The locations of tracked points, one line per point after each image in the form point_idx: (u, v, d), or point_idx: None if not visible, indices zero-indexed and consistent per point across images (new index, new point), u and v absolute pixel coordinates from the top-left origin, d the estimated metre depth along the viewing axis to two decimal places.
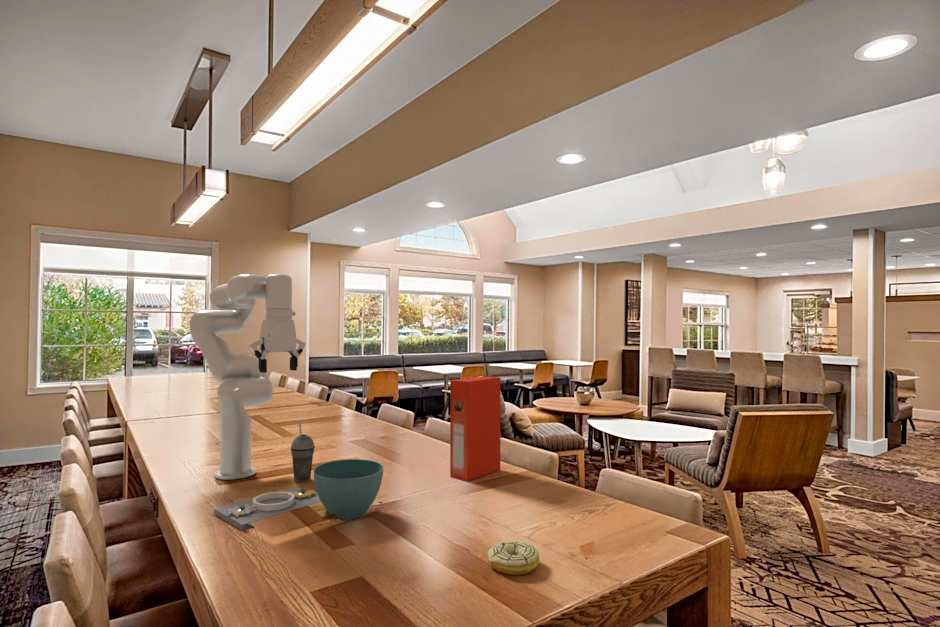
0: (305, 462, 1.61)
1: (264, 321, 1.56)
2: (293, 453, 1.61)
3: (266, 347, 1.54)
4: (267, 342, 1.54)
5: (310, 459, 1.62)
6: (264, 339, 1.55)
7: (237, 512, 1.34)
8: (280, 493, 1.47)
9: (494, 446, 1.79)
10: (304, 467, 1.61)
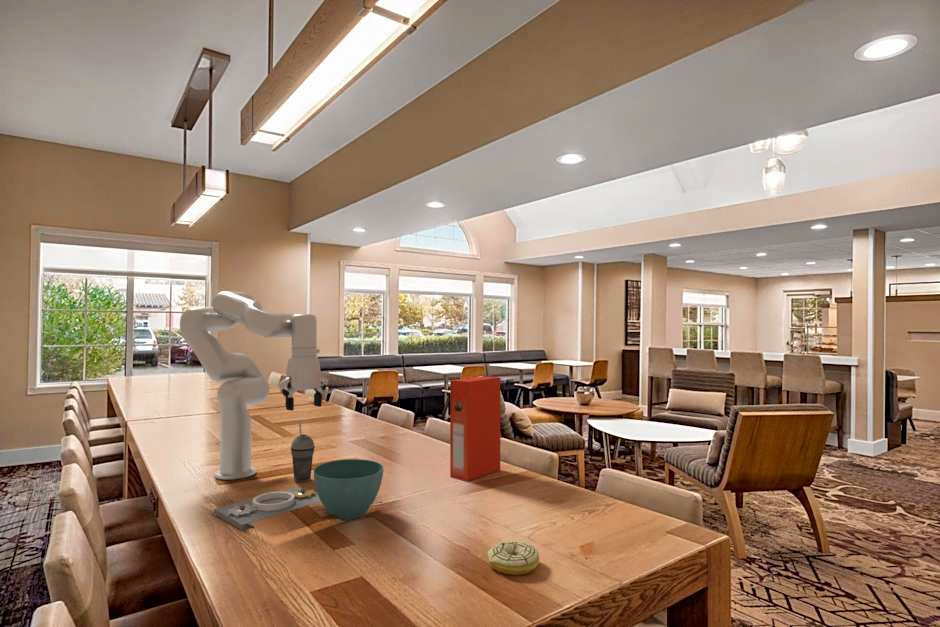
0: (305, 462, 1.61)
1: (290, 360, 1.60)
2: (293, 453, 1.61)
3: (293, 386, 1.59)
4: (294, 381, 1.59)
5: (310, 459, 1.62)
6: (291, 378, 1.59)
7: (237, 512, 1.34)
8: (280, 493, 1.47)
9: (494, 446, 1.79)
10: (304, 467, 1.61)
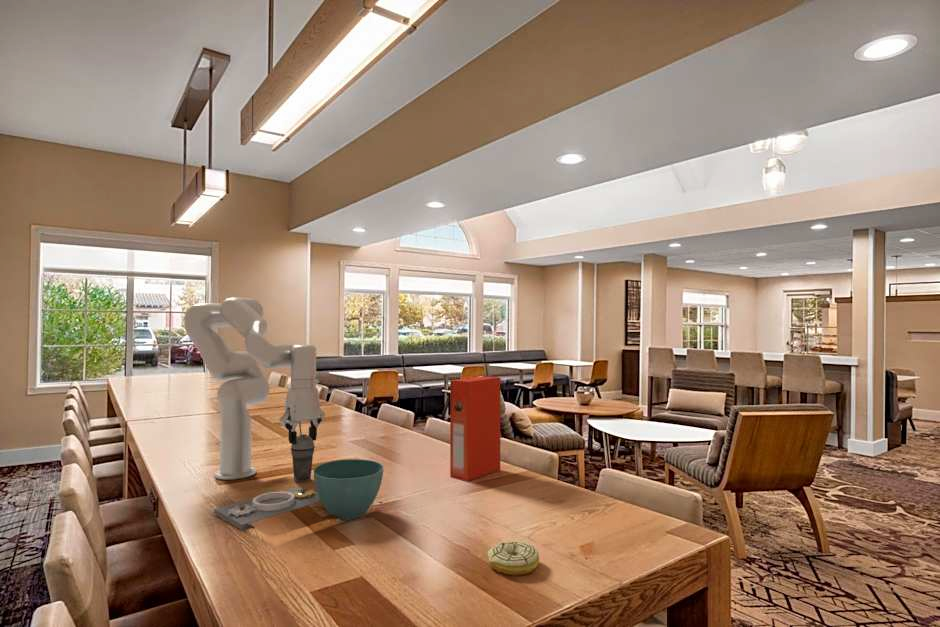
0: (305, 462, 1.61)
1: (290, 391, 1.60)
2: (293, 453, 1.61)
3: (292, 417, 1.59)
4: (293, 412, 1.59)
5: (310, 459, 1.62)
6: (290, 409, 1.59)
7: (237, 512, 1.34)
8: (280, 493, 1.47)
9: (494, 446, 1.79)
10: (304, 467, 1.61)
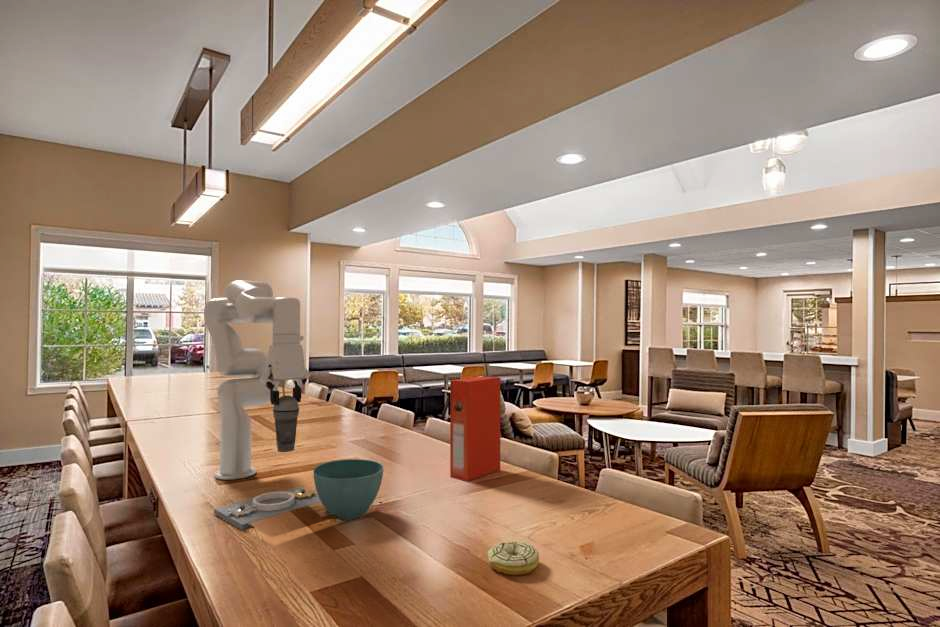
0: (289, 425, 1.47)
1: (271, 347, 1.47)
2: (276, 415, 1.47)
3: (274, 375, 1.45)
4: (275, 370, 1.45)
5: (294, 422, 1.49)
6: (272, 367, 1.45)
7: (237, 512, 1.34)
8: (280, 493, 1.47)
9: (494, 446, 1.79)
10: (288, 430, 1.47)
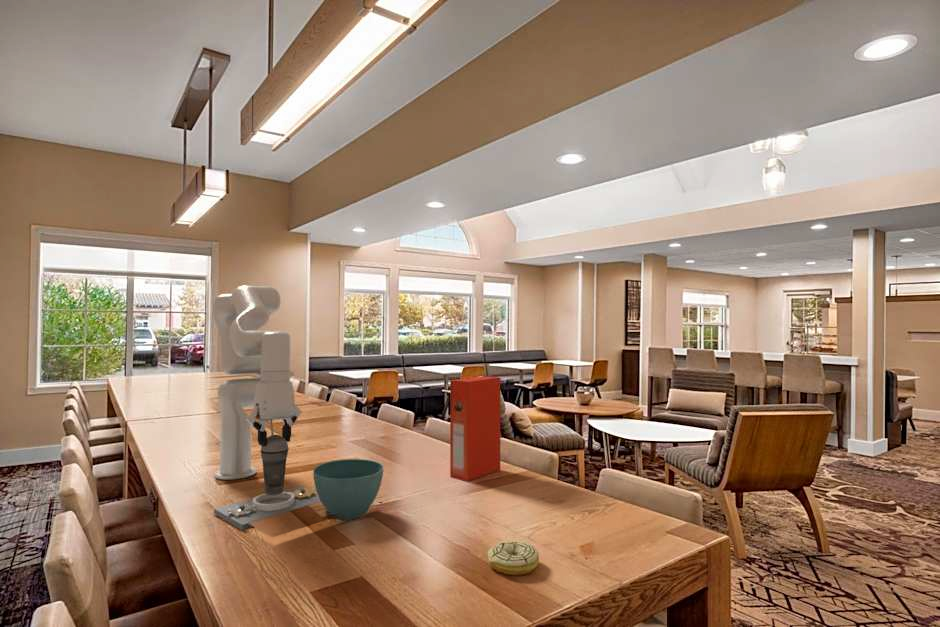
0: (277, 467, 1.40)
1: (259, 385, 1.39)
2: (263, 456, 1.40)
3: (261, 415, 1.38)
4: (262, 409, 1.38)
5: (283, 463, 1.41)
6: (259, 406, 1.38)
7: (237, 512, 1.34)
8: None
9: (494, 446, 1.79)
10: (276, 472, 1.40)
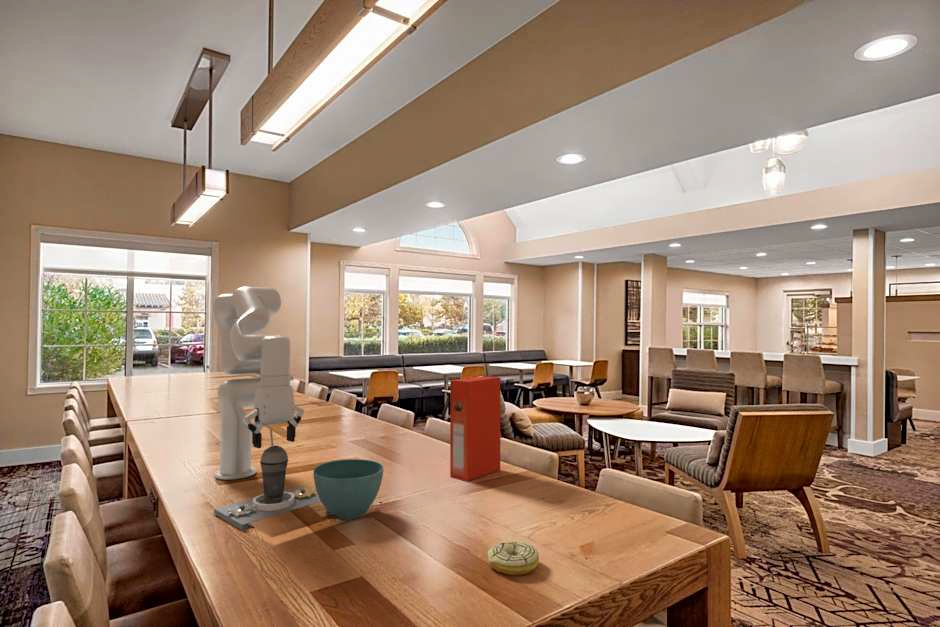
0: (277, 478, 1.40)
1: (259, 390, 1.39)
2: (263, 467, 1.40)
3: (261, 420, 1.38)
4: (262, 414, 1.38)
5: (282, 474, 1.42)
6: (259, 410, 1.38)
7: (237, 512, 1.34)
8: None
9: (494, 446, 1.79)
10: (275, 483, 1.40)
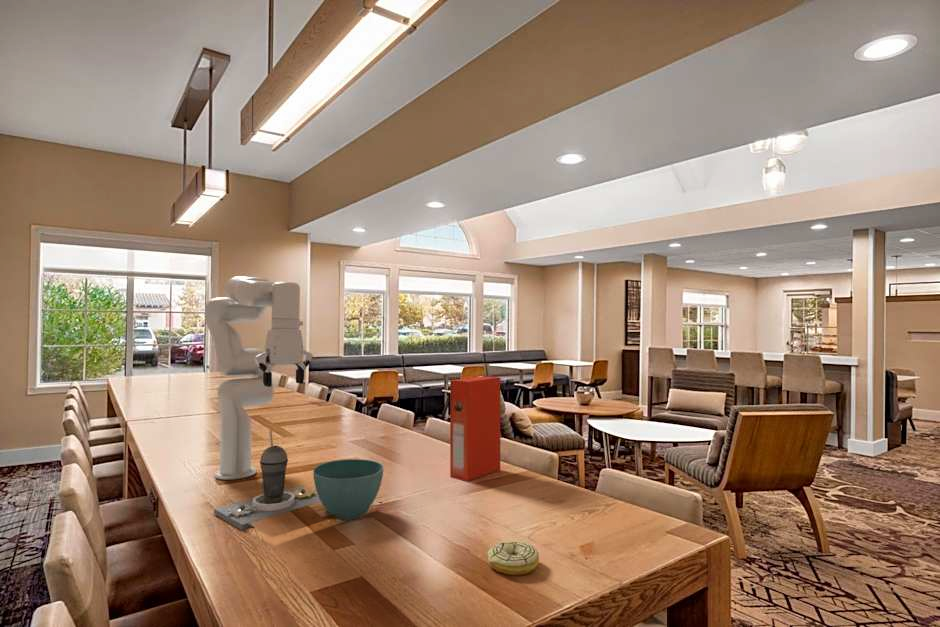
0: (276, 478, 1.40)
1: (270, 332, 1.47)
2: (262, 467, 1.40)
3: (271, 360, 1.45)
4: (273, 354, 1.45)
5: (282, 474, 1.42)
6: (269, 351, 1.45)
7: (237, 512, 1.34)
8: None
9: (494, 446, 1.79)
10: (275, 483, 1.40)
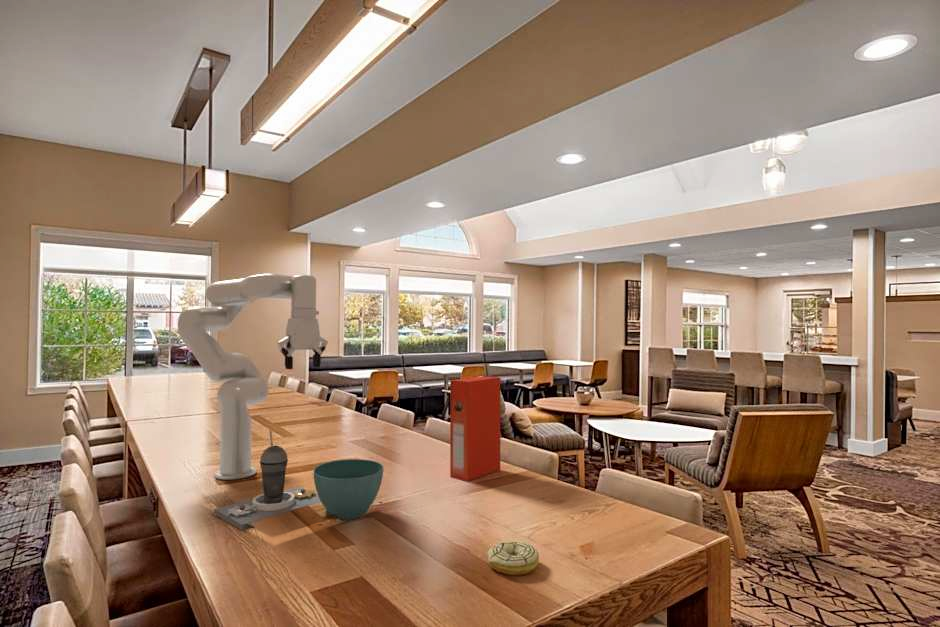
0: (276, 478, 1.40)
1: (290, 320, 1.63)
2: (262, 467, 1.40)
3: (292, 345, 1.61)
4: (293, 340, 1.61)
5: (282, 474, 1.42)
6: (290, 337, 1.61)
7: (237, 512, 1.34)
8: None
9: (494, 446, 1.79)
10: (275, 483, 1.40)
